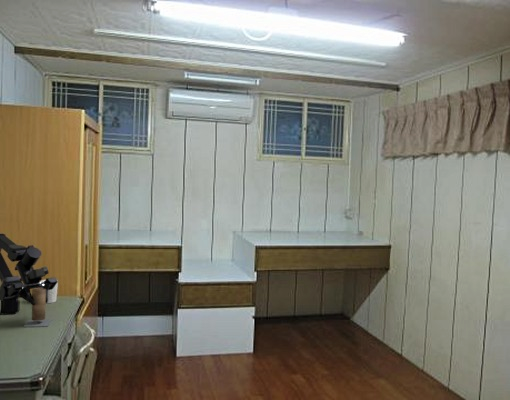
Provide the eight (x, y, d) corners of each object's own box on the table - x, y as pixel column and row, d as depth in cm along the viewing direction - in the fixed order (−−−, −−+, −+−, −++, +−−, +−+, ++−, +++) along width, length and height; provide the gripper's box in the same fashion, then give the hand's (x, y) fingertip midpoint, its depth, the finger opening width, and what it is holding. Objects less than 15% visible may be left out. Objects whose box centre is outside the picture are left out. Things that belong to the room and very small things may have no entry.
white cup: (39, 300, 224) (40, 279, 224) (57, 299, 228) (57, 278, 227) (39, 304, 217) (40, 283, 217) (57, 303, 221) (58, 282, 220)
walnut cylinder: (28, 319, 188) (29, 290, 187) (38, 316, 192) (39, 287, 192) (38, 321, 186) (39, 291, 185) (48, 318, 190) (48, 289, 190)
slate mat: (23, 327, 184) (23, 326, 184) (29, 320, 193) (29, 319, 193) (47, 326, 186) (47, 325, 185) (52, 320, 194) (52, 319, 194)
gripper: (11, 263, 183) (25, 296, 177) (55, 258, 198) (70, 288, 192) (1, 280, 188) (14, 312, 182) (45, 273, 203) (58, 303, 197)
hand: (40, 303), depth 188 cm, fingers closed on walnut cylinder, 5 cm apart
